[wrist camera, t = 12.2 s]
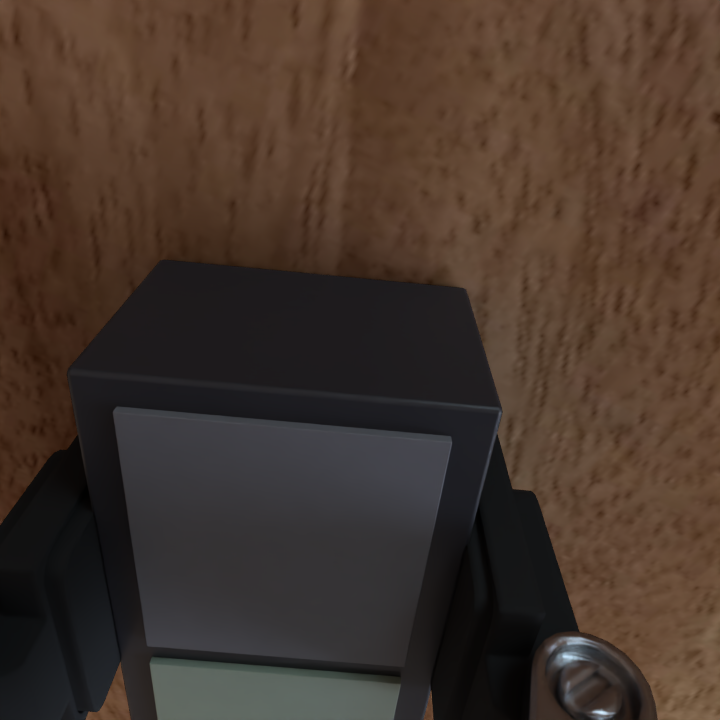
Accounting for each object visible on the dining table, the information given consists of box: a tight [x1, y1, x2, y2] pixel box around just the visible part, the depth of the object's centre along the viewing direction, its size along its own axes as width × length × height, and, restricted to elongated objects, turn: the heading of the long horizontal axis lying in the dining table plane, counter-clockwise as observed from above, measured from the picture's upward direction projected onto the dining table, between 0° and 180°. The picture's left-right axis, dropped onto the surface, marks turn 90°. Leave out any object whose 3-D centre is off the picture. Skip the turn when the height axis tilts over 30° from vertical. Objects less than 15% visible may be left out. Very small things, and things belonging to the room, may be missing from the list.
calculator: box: [67, 260, 502, 720], centre depth 9 cm, size 7×5×3 cm, turn 175°
